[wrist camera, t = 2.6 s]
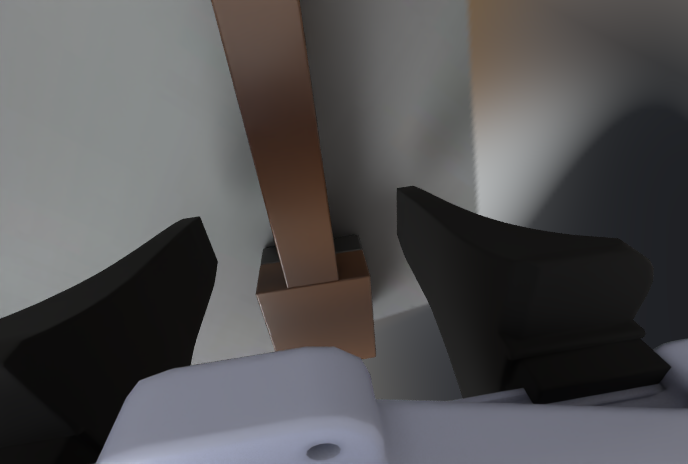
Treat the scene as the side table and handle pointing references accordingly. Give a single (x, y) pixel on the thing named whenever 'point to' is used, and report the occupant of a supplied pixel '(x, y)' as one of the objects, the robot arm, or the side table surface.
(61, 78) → the side table surface
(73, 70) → the side table surface
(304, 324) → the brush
